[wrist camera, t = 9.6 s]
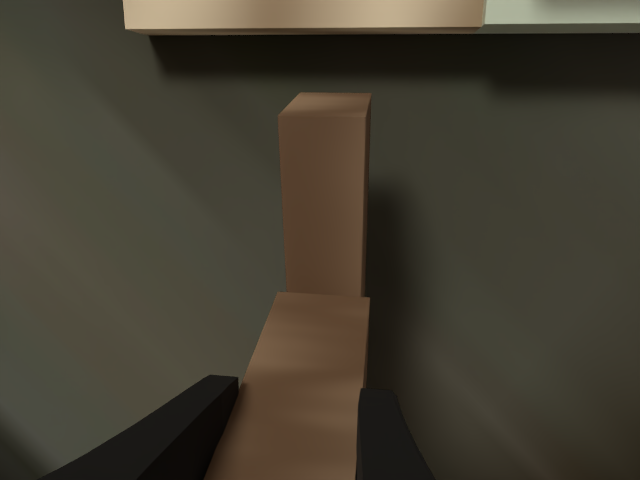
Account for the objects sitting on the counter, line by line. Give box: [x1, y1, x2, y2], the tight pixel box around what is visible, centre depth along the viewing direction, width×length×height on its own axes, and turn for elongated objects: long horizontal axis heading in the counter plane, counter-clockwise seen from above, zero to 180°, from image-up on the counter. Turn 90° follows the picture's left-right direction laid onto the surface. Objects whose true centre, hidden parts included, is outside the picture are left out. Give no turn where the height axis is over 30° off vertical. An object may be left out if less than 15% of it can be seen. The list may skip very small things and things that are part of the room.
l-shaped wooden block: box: [204, 92, 371, 480], centre depth 12 cm, size 2×12×9 cm, turn 179°
